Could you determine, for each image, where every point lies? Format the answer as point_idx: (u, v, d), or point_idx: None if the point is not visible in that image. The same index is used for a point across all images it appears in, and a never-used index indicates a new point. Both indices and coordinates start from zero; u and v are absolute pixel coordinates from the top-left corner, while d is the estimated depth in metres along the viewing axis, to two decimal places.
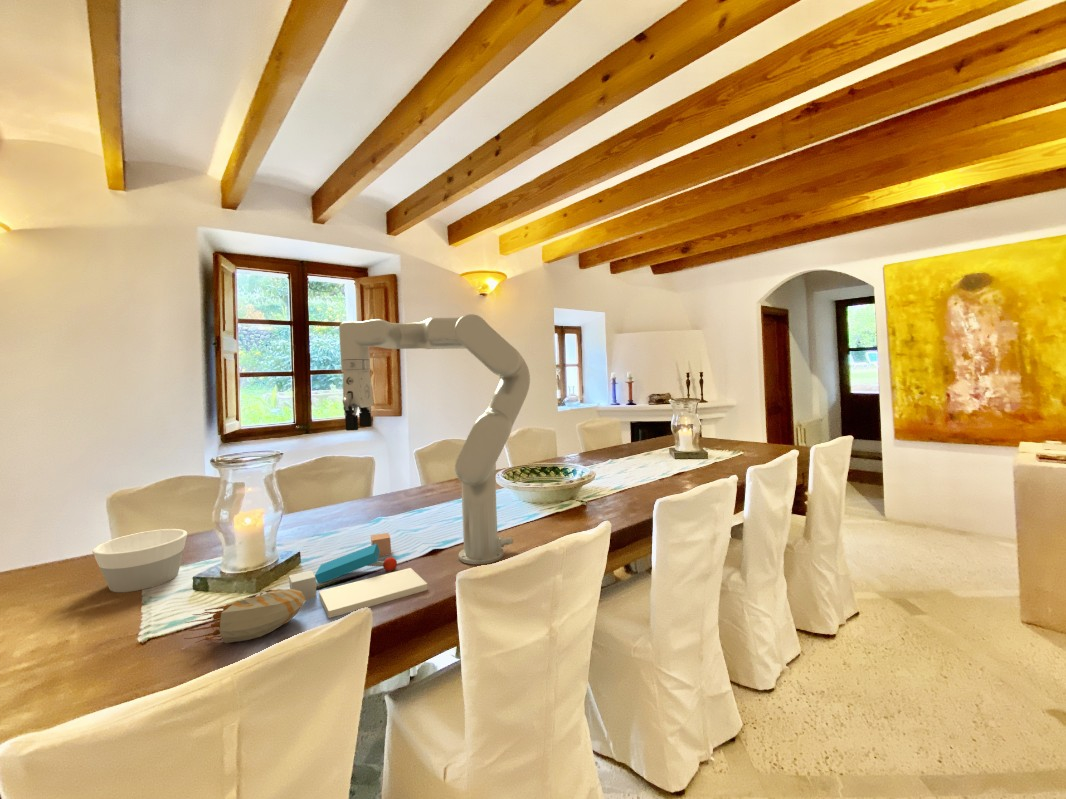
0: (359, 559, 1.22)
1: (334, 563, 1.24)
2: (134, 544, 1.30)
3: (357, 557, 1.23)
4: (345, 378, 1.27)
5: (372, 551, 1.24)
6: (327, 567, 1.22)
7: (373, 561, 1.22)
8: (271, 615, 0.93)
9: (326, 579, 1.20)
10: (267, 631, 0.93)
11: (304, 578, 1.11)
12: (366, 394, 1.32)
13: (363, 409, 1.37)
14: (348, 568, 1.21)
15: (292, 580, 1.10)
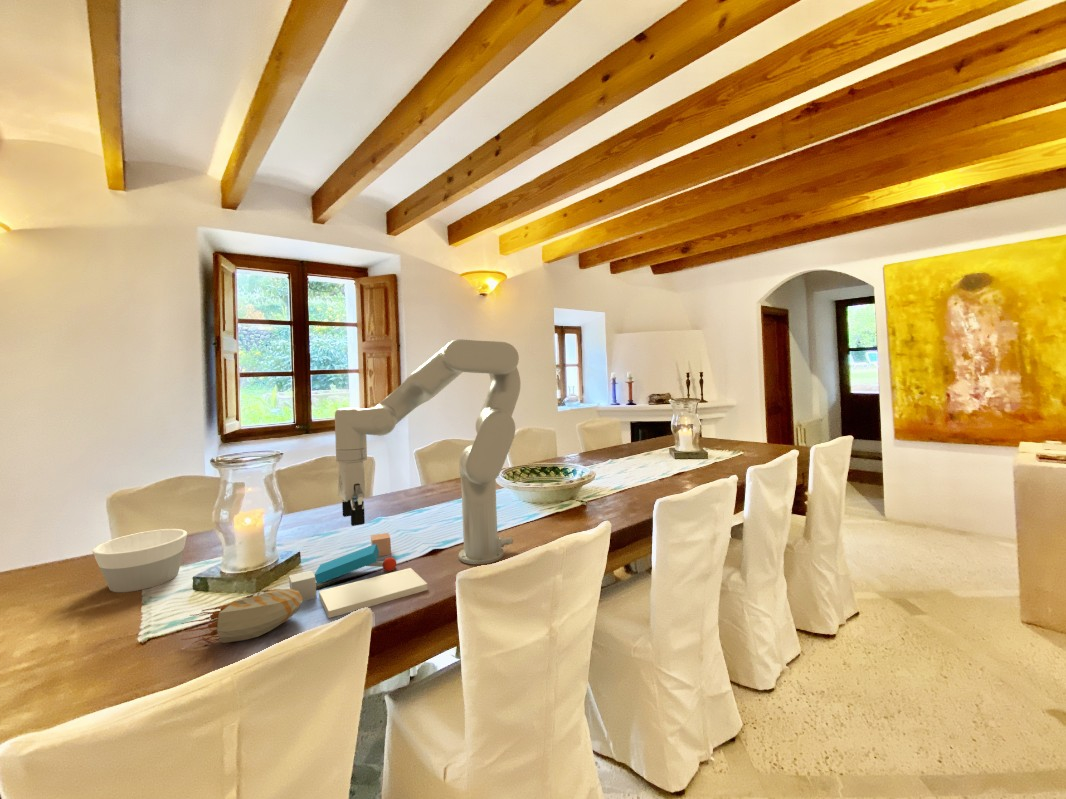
0: (358, 559, 1.22)
1: (333, 563, 1.24)
2: (134, 544, 1.30)
3: (356, 557, 1.23)
4: None
5: (371, 551, 1.24)
6: (326, 567, 1.22)
7: (372, 561, 1.22)
8: (269, 615, 0.93)
9: (325, 579, 1.20)
10: (265, 631, 0.93)
11: (304, 578, 1.11)
12: (340, 485, 1.23)
13: None
14: (347, 568, 1.21)
15: (292, 580, 1.10)
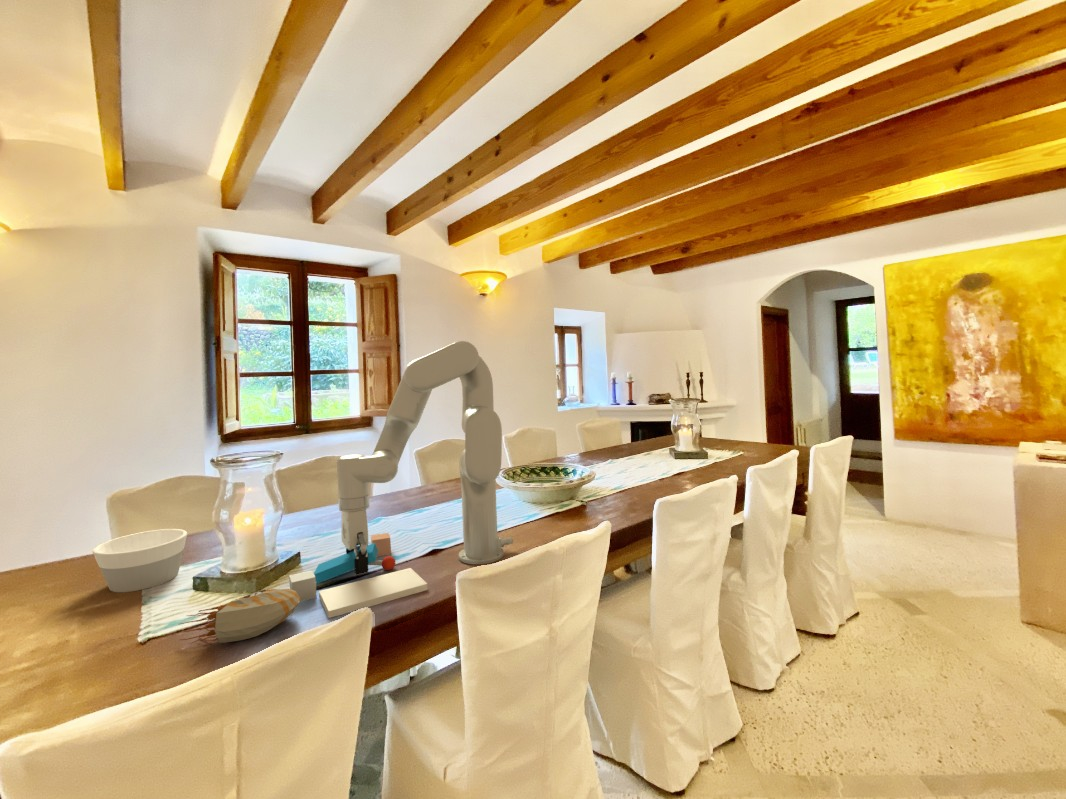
0: None
1: (332, 563, 1.23)
2: (134, 544, 1.30)
3: None
4: None
5: (371, 550, 1.24)
6: (325, 566, 1.22)
7: (372, 560, 1.22)
8: (267, 614, 0.93)
9: (324, 578, 1.20)
10: (263, 630, 0.93)
11: (304, 578, 1.11)
12: (344, 533, 1.24)
13: None
14: (347, 567, 1.21)
15: (292, 580, 1.10)
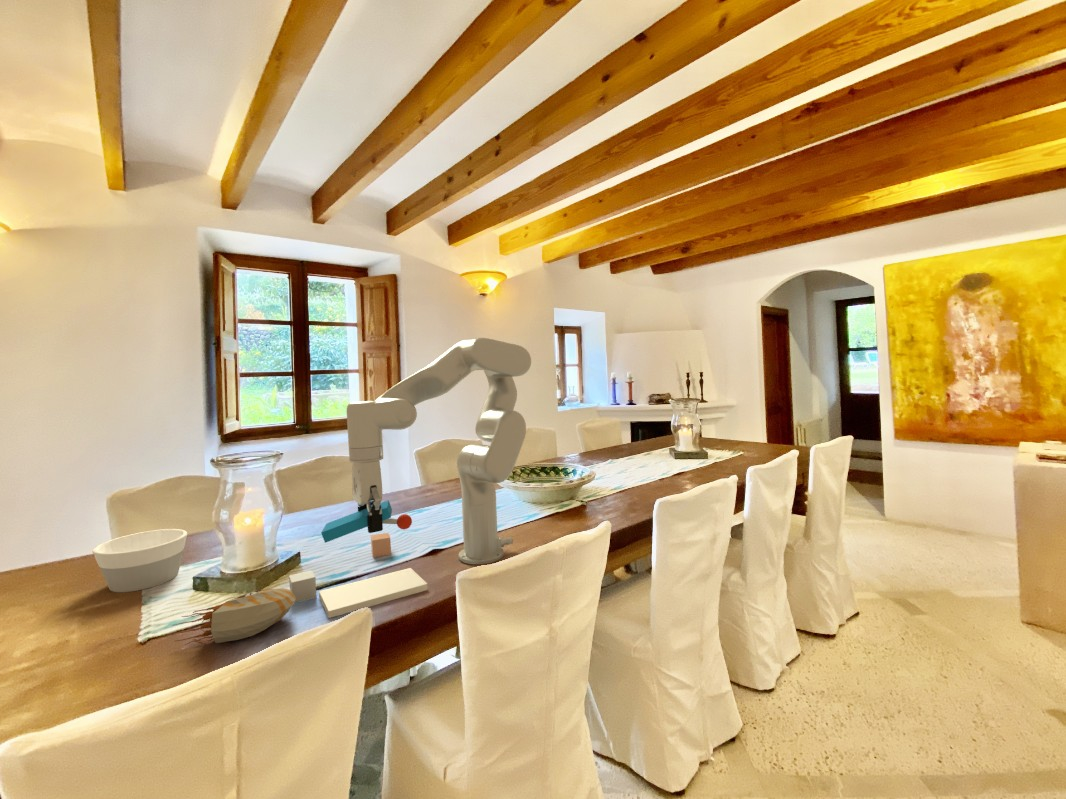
0: None
1: (342, 521, 1.11)
2: (135, 544, 1.30)
3: None
4: None
5: (385, 506, 1.11)
6: (334, 524, 1.09)
7: (386, 517, 1.10)
8: (264, 614, 0.93)
9: (334, 537, 1.07)
10: (260, 630, 0.94)
11: (304, 578, 1.11)
12: (355, 487, 1.11)
13: None
14: (359, 525, 1.08)
15: (292, 580, 1.10)
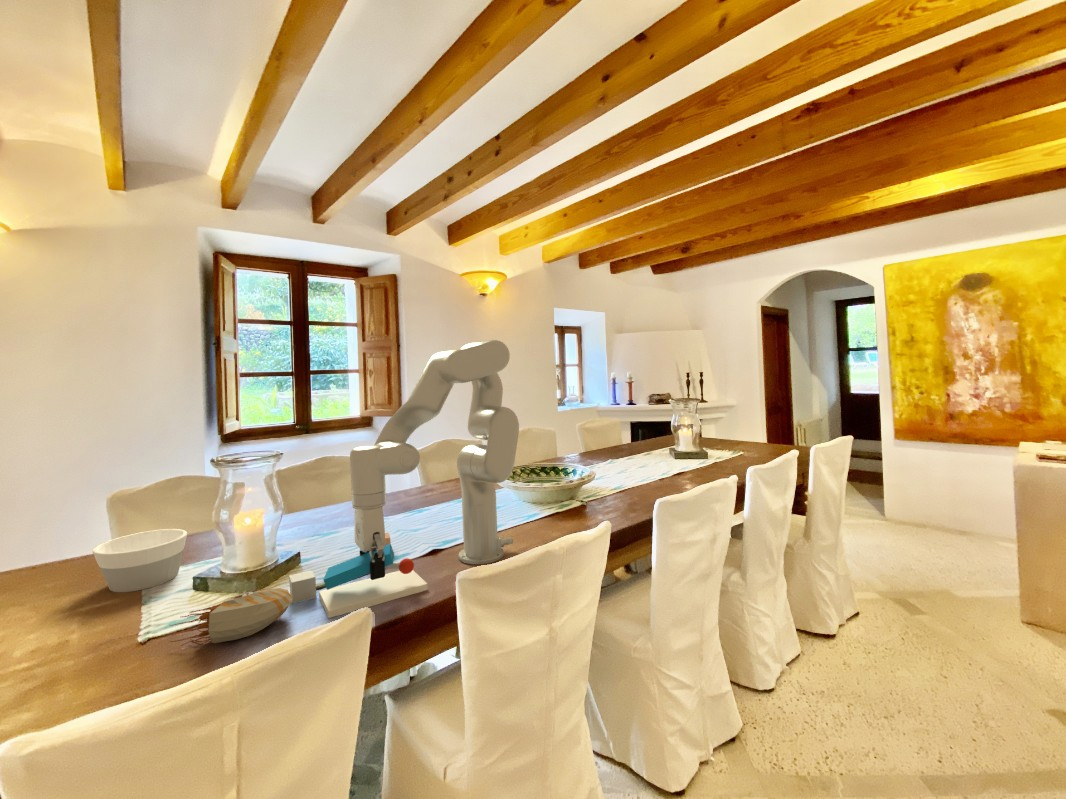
0: None
1: (344, 566, 1.11)
2: (135, 544, 1.30)
3: (370, 559, 1.10)
4: None
5: (387, 552, 1.11)
6: (337, 570, 1.09)
7: (389, 563, 1.10)
8: (262, 613, 0.94)
9: (336, 584, 1.07)
10: (257, 629, 0.94)
11: (304, 578, 1.11)
12: (357, 533, 1.11)
13: None
14: (361, 571, 1.08)
15: (292, 580, 1.10)
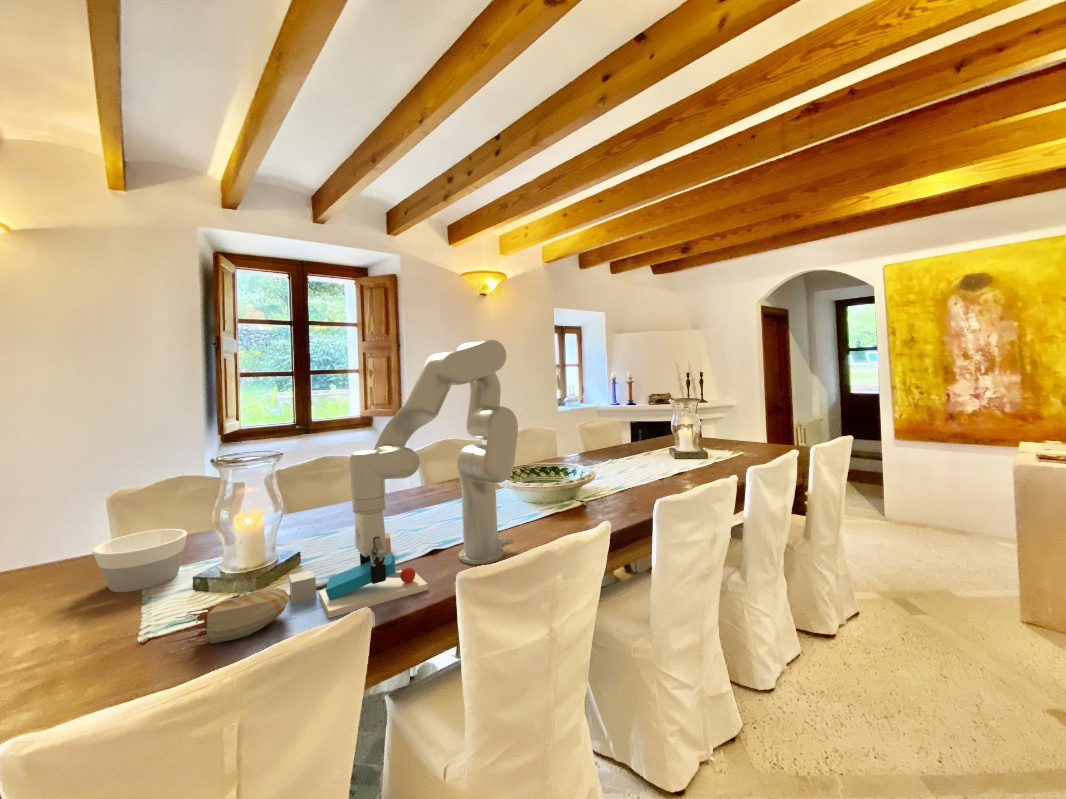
0: None
1: (346, 576, 1.11)
2: (134, 544, 1.30)
3: None
4: None
5: (389, 561, 1.12)
6: (338, 581, 1.09)
7: (391, 572, 1.10)
8: (260, 613, 0.94)
9: (338, 594, 1.07)
10: (255, 629, 0.94)
11: (304, 578, 1.11)
12: (358, 537, 1.11)
13: None
14: (363, 581, 1.09)
15: (292, 580, 1.10)
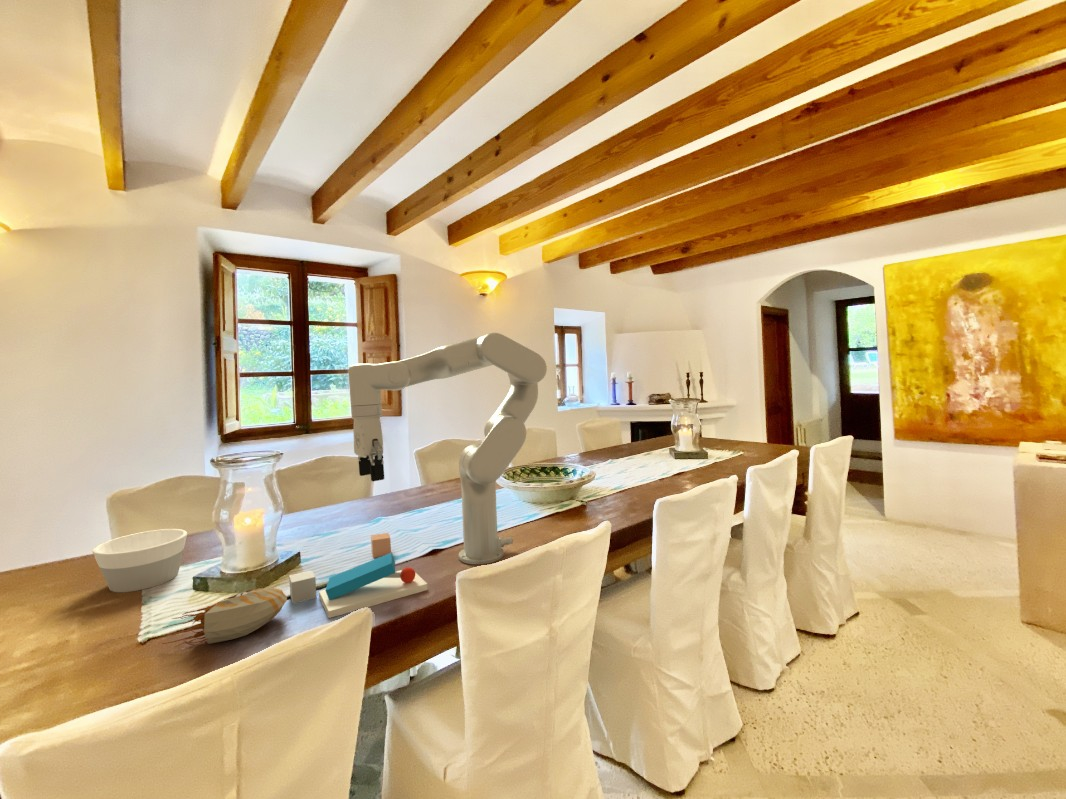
0: (375, 571, 1.09)
1: (346, 576, 1.11)
2: (134, 544, 1.30)
3: (372, 569, 1.10)
4: None
5: (389, 561, 1.11)
6: (338, 581, 1.09)
7: (391, 572, 1.10)
8: (258, 613, 0.94)
9: (338, 594, 1.07)
10: (253, 629, 0.94)
11: (304, 578, 1.11)
12: (357, 442, 1.22)
13: None
14: (363, 581, 1.09)
15: (292, 580, 1.10)
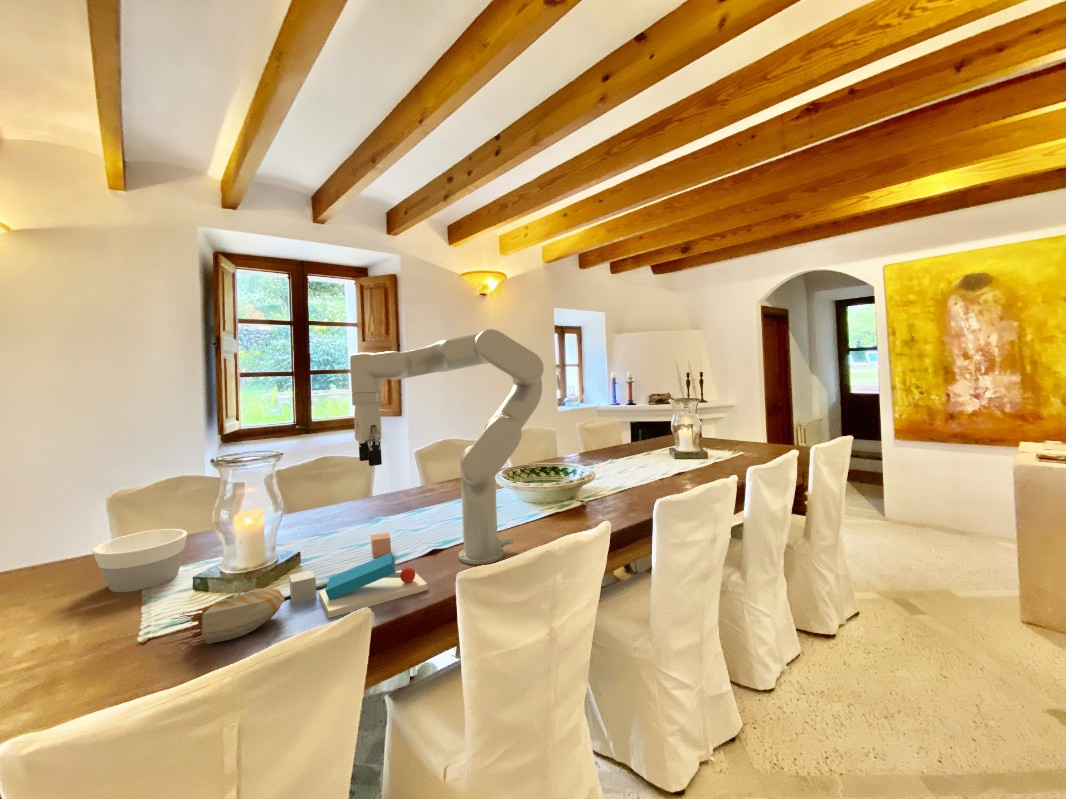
0: (375, 571, 1.09)
1: (346, 576, 1.11)
2: (135, 544, 1.30)
3: (372, 569, 1.10)
4: None
5: (389, 561, 1.11)
6: (338, 581, 1.09)
7: (391, 572, 1.10)
8: (256, 612, 0.94)
9: (338, 594, 1.07)
10: (251, 629, 0.94)
11: (304, 578, 1.11)
12: (357, 428, 1.27)
13: None
14: (363, 581, 1.09)
15: (292, 580, 1.10)
